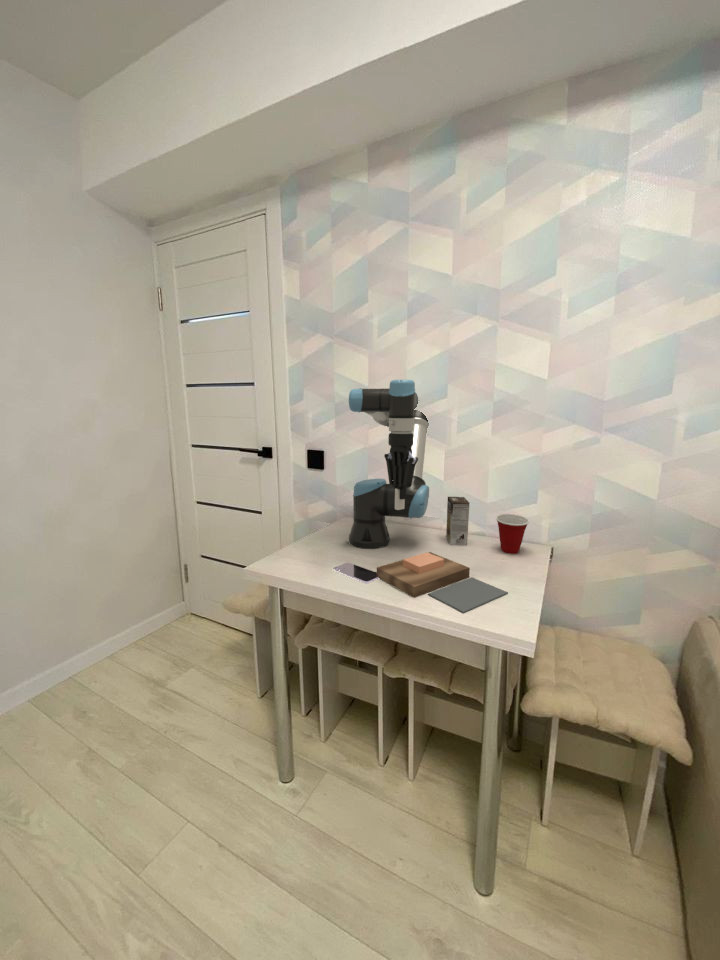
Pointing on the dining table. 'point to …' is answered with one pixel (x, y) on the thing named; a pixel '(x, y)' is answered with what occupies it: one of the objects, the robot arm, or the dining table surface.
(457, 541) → the coffee box
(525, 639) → the dining table surface
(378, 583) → the dining table surface
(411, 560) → the coral block
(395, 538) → the dining table surface
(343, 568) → the mobile phone
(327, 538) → the dining table surface
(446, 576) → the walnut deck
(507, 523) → the plastic cup
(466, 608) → the rubber mat
